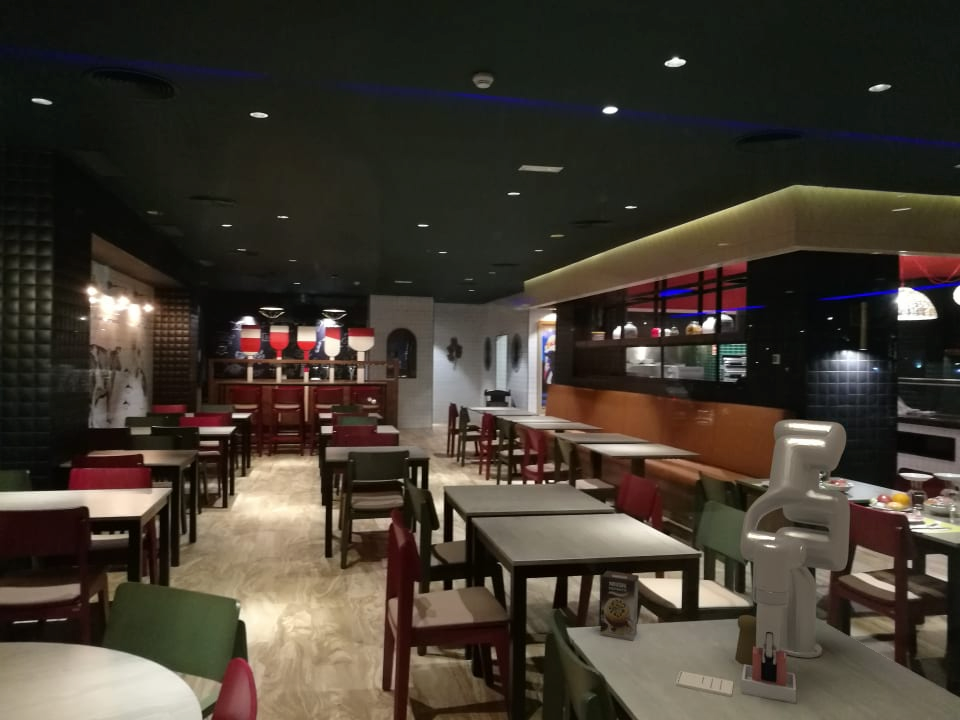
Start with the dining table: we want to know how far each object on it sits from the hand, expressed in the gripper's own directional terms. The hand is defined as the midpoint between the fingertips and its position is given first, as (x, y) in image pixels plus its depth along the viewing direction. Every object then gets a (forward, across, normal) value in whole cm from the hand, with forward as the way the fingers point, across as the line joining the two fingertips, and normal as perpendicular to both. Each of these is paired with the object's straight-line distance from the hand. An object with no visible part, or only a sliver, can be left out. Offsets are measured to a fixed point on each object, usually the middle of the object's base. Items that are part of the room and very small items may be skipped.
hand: (768, 675), depth 156 cm
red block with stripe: (+1, 0, 0) cm, 1 cm away
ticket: (+3, +4, -14) cm, 14 cm away
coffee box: (+4, -17, -38) cm, 42 cm away
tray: (+3, 0, 0) cm, 3 cm away
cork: (+4, -15, -5) cm, 16 cm away
